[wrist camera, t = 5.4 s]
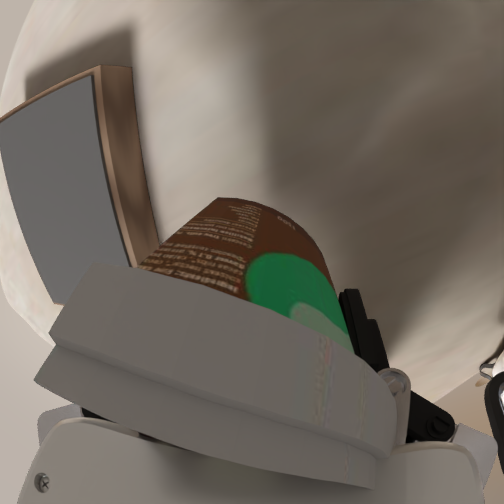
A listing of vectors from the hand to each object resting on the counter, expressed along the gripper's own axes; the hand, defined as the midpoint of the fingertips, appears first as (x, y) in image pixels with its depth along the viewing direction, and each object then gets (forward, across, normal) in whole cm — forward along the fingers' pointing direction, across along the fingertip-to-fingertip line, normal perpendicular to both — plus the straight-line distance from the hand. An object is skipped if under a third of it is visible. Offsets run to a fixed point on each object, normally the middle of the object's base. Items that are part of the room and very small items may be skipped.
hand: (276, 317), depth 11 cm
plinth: (+9, +15, -3) cm, 18 cm away
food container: (+2, -1, 0) cm, 2 cm away
